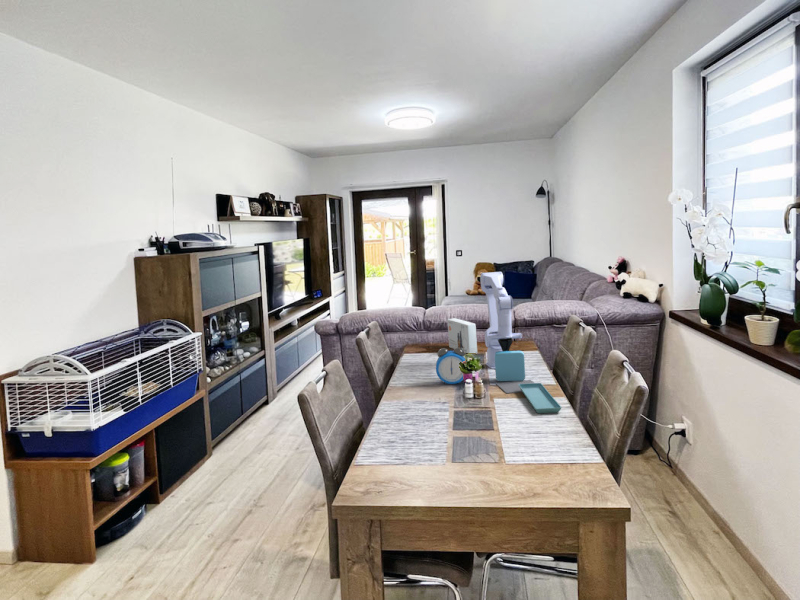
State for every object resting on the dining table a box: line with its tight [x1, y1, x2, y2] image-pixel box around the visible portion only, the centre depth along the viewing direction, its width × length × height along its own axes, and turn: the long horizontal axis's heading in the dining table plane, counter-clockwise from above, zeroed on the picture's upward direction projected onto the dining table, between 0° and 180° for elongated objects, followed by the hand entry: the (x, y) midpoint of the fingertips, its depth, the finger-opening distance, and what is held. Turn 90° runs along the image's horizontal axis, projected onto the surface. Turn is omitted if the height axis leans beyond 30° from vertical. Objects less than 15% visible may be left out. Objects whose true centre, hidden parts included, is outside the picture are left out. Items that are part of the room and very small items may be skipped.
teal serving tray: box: [518, 382, 562, 414], centre depth 191 cm, size 26×9×2 cm, turn 0°
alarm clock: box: [435, 347, 466, 385], centre depth 219 cm, size 13×6×15 cm, turn 85°
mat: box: [495, 379, 535, 395], centre depth 209 cm, size 13×15×1 cm
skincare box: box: [446, 317, 478, 354], centre depth 275 cm, size 21×5×16 cm, turn 25°
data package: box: [494, 350, 526, 382], centre depth 218 cm, size 12×4×12 cm, turn 79°
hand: (505, 355), depth 222 cm, fingers closed
